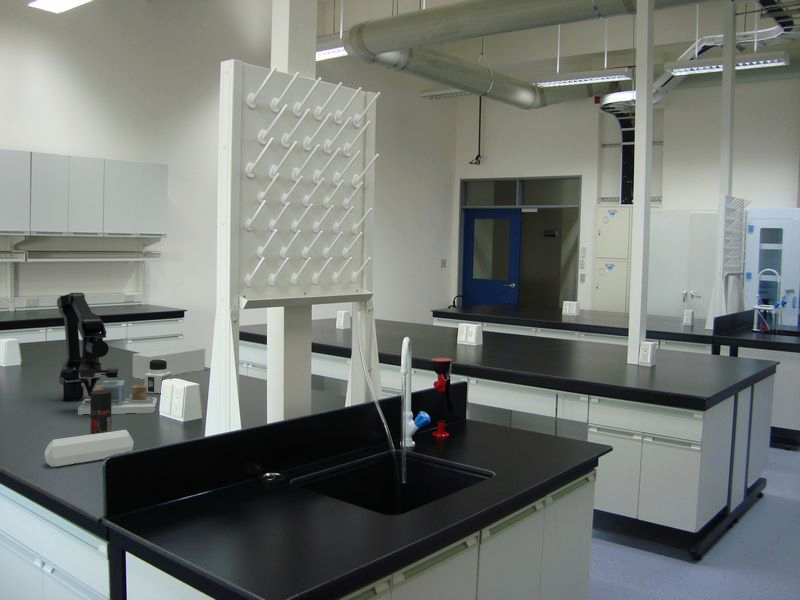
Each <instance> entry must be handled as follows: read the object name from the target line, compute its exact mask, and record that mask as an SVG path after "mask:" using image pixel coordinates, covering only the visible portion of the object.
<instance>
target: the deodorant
mask: <svg viewBox="0 0 800 600" xmlns="http://www.w3.org/2000/svg"><path fill="white" fill-rule="evenodd" d="M89 399H90V415H89V416H90V435H91V434H98V433H106V432H112V414H111V391H109V390H96V391H95V390H93V391H92V392H90V398H89Z"/></svg>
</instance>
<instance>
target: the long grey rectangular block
mask: <svg viewBox="0 0 800 600" xmlns="http://www.w3.org/2000/svg"><path fill="white" fill-rule="evenodd" d="M155 359H163V360H165V361H167V371H166V372H171V375H175V374H179V373H183V372H191V371H200V370H205V371H206V348H203V347H198V346H196V347H195V346H189V345H188V346H181V347H175V348H168V349H161V350H153V351H146V352H139V353H133V354H132V378H133V377H135V378H134V379H136V378H140V379H139V380H141V379H145V374H146V373H149V372H150V361H152V360H155ZM204 367H205V368H204Z"/></svg>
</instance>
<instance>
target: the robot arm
mask: <svg viewBox="0 0 800 600" xmlns="http://www.w3.org/2000/svg"><path fill="white" fill-rule="evenodd" d="M56 306H57V309H58V313H59V315H61V317H62V318H63V319H64V331H65V332H64V333H65V334H64V335H65V349H66V351H65V352H66V358H65V360H64V362H63V364H62V368H61V370H60V374H59V377H58V379H59V381H58V382H59V384H61V385H63V386H62V387H63V388H62V389H63V393H62V394H63V398H62V401H64V402H65V401H81V400H83V398H84V397H85V389H86V392H87V395H88V397H90V392H92V391H94V390H95V387H96V385H97V382H98V381H100V380H101V379H102V378H103V376H105V377H106V378H108V379H109V378H112V379H113V378H114V379H116V378H119V376H120V368H119V367H117V366H116V367H115V366H114V367H111V366H110V367H109V366H108V367H106V369H102V363H101V362H100V358H103V357H105V356H106V355H107V354H108V353H109V351H110V350H109V349H110V348H109V344H108V343H107V342H106V341H104V339H105V338H107V329H106V327H105V324H104V322H103V320H102V319H101V318H100V317H99V315H98V314H96V313H93V312H92V310H91V308H90V306H89V304H88V302H87V301H86V297H85V293H83V292H70V293H68V294H66V295H60V296H59V297H58V298H57V300H56ZM80 337H81V346H80ZM80 347H81V349H80ZM83 384H84V385H83Z"/></svg>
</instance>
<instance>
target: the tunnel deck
mask: <svg viewBox="0 0 800 600" xmlns="http://www.w3.org/2000/svg"><path fill="white" fill-rule="evenodd" d="M125 382H126V381H125V380H123V379H122V380H103V382H102V383H101V390H109V391H111V399H119V401H111V415H124V414H126V413H136V414H155V410H156V408H155V407H157V405H156V404H158V403H157V401H158V400H157V397H153V400H152V401H145V402H129V401H122V398H125V395H126V394H125V393H126V390H125V388H126V387H125V386H126V385H125ZM82 414H90V398H89V399H88V398H85V399H84V400H83V401H82V402H81V404H80V405H79V406H78V408H77V415H78V416H83V415H82ZM126 415H127V414H126Z"/></svg>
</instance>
